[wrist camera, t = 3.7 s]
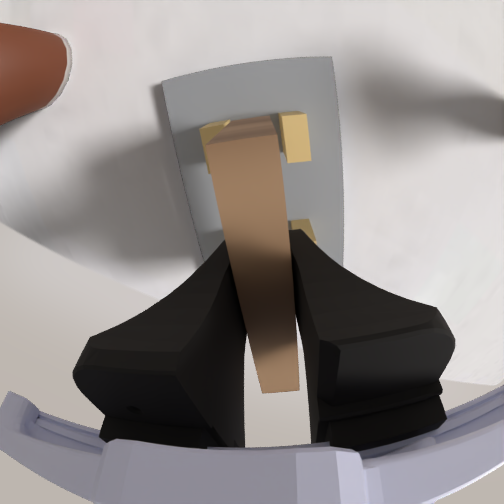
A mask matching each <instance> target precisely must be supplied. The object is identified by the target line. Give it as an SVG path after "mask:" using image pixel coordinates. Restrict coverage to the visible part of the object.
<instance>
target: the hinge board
mask: <svg viewBox="0 0 504 504" xmlns="http://www.w3.org/2000/svg"><path fill="white" fill-rule="evenodd" d="M162 86H163V91H164V96H165V102H166V107H167V112H168V116H169V121H170V126H171V131H172V135H173V140H174V144H175V149H176V153H177V158H178V162H179V166H180V171H181V175H182V179H183V183H184V187H185V191H186V195H187V199H188V203H189V207H190V211H191V215H192V219H193V223H194V226H195V230H196V234H197V238H198V241H199V245H200V249H201V252H202V256H203V259H204V262H205V261H206V260H207V259H208V258H209V257H210V256H211V254H212V253H213V252H214V251H215V250H216V249H217V248H218V246H219V245H220V244H221V243H222V242H223V241H224V240H225V237H224V233H223V228H222V224H221V219H220V214H219V210H218V205H217V201H216V196H215V191H214V186H213V182H212V177H211V172H210V167H209V162H208V157H207V153H206V148H205V145H206V144H207V143H208V142H209V141H210V140H211V139H212V138H213V137H214V136H215V135H216V134H218V133H219V132H220V131H221V130H222V129H223V128H224V127H225V126H226V125H227V124H229V123H230V122H231V121H233V120H240V119H247V118H254V117H261V116H270V118H271V121H272V123H273V125H274V128H275V130H276V132H277V135H278V143H279V151H280V159H281V167H282V175H283V184H284V192H285V201H286V211H287V220H288V230H295V229H302V230H303V231H304V232H305V233H306V234H307V235H308V236H309V238H310V239H311V240H312V241H313V242H314V243H315V244H316V245H317V246H318V247H319V248H320V249H322V250H323V251H324V252H325V253H326V254H327V255H328V256H329V257H330V258H332V259H333V260H334V261H335V262H337V263H338V264H339V265H341V266H342V267H343V252H344V189H343V163H342V146H341V132H340V120H339V109H338V100H337V91H336V83H335V75H334V68H333V61H332V57H300V58H286V59H274V60H265V61H257V62H249V63H242V64H236V65H230V66H224V67H219V68H214V69H209V70H204V71H200V72H195V73H191V74H187V75H183V76H179V77H175V78H172V79H168V80H164V81H162Z"/></svg>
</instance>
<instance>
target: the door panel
mask: <svg viewBox="0 0 504 504" xmlns="http://www.w3.org/2000/svg"><path fill="white" fill-rule="evenodd" d="M205 148H206V153H207V157H208V162H209V167H210V172H211V177H212V182H213V186H214V191H215V196H216V201H217V205H218V210H219V214H220V219H221V224H222V228H223V233H224V237H225V242H226V246H227V250H228V255H229V259H230V264H231V268H232V272H233V277H234V281H235V285H236V289H237V294H238V298H239V302H240V306H241V310H242V315H243V319H244V323H245V327H246V331H247V335H248V339H249V343H250V347H251V351H252V355H253V359H254V363H255V367H256V371H257V375H258V379H259V383H260V386H261V390H262V393H276V392H288V391H297V390H299V367H298V347H297V330H296V315H295V300H294V287H293V275H292V263H291V252H290V241H289V230H288V220H287V211H286V201H285V192H284V184H283V175H282V167H281V159H280V151H279V143H278V135H277V132H276V130H275V128H274V125H273V123H272V121H271V118H270V116H261V117H254V118H247V119H240V120H233V121H231V122H230V123H229V124H227V125H226V126H225V127H224V128H223V129H222V130H221V131H220V132H219V133H218V134H216V135H215V136H214V137H213V138H212V139H211V140H210V141H209V142H208V143H207V144H206V145H205Z"/></svg>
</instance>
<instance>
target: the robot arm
mask: <svg viewBox="0 0 504 504" xmlns="http://www.w3.org/2000/svg"><path fill="white" fill-rule="evenodd" d="M289 241H290V252H291V263H292V275H293V287H294V300H295V314H296V318H297V323H298V327H299V331H300V336H301V340H302V345H303V351H304V360H305V369H306V379H307V391H308V403H309V416H310V431H311V444H304V445H293V446H279V447H258V448H257V447H256V448H245V431H244V430H245V429H244V353H245V343H246V336H247V331H246V327H245V323H244V319H243V315H242V310H241V306H240V302H239V298H238V294H237V289H236V285H235V281H234V277H233V272H232V268H231V264H230V259H229V255H228V250H227V246H226V242H225V240H224V241H223V242H222V243H221V244H220V245H219V246H218V248H217V249H216V250H215V251H214V252H213V253H212V254H211V256H210V257H209V258H208V259H207V260H206V261H205V262H204V263H203V264H202V265H201V266H200V267H199V268H198V269H197V270H196V271H195V272H194V273H193V274H192V275H191V276H190V277H189V278H188V279H187V280H186V281H185V282H184V283H182V284H181V285H180V286H179V287H178V288H176V289H175V290H174V291H173V292H171V293H170V294H169V295H168V296H166V297H165V298H163V299H162V300H160V301H159V302H157V303H156V304H154V305H153V306H151V307H150V308H148V309H147V310H145V311H144V312H142V313H140V314H138V315H137V316H135V317H133V318H131V319H129V320H128V321H126V322H124V323H122V324H120V325H118V326H115V327H113V328H111V329H108V330H106V331H104V332H101V333H99V334H97V335H94V336H92V337H90V338H89V340H88V342H87V344H86V346H85V348H84V350H83V351H82V353H81V356H80V357H79V359H78V362H77V364H76V366H75V368H74V370H73V379H74V381H75V383H76V385H77V387H78V388H79V390H80V391H81V392H82V393H83V394H84V395H85V396H86V397H87V398H88V399H89V400H90V401H91V402H92V403H93V404H94V405H95V406H96V407H97V408H98V409H99V410H100V411H101V412H102V413H103V414H104V415H105V418H104V421H103V425H102V427H101V430H97V429H94V428H90V427H86V426H83V425H80V424H76V423H73V422H70V421H67V420H64V419H61V418H58V417H55V416H52V415H49V414H47V413H44V412H41V411H39V409H38V408H37V407H36V406H35V405H34V404H33V403H31V402H30V401H29V400H28V399H26V398H25V397H23V396H20V395H18V394H16V393H13V392H11V391H8V393H7V395H6V397H5V399H4V401H3V403H2V405H1V408H0V450H2V451H3V452H5V453H6V454H7V455H9V456H11V457H12V458H13V459H15V460H16V461H18V462H19V463H21V464H22V465H24V466H25V467H27V468H28V469H30V470H31V471H33V472H35V473H36V474H38V475H40V476H41V477H43V478H45V479H47V480H48V481H50V482H52V483H54V484H56V485H58V486H60V487H61V488H64V489H65V490H67V491H70V492H72V493H74V494H76V495H78V496H80V497H82V498H85V499H87V500H89V501H92V502H93V503H94V504H434V503H435V501H436V500H439V499H441V498H443V497H446V496H448V495H449V494H452V493H454V492H456V491H458V490H460V489H462V488H464V487H466V486H468V485H470V484H471V483H473V482H475V481H477V480H479V479H480V478H482V477H484V476H485V475H487V474H489V473H490V472H492V471H494V470H495V469H497V468H498V467H500V466H502V465H503V464H504V385H502V386H500V387H498V388H497V389H495V390H493V391H491V392H489V393H487V394H485V395H483V396H480V397H478V398H476V399H474V400H472V401H469V402H467V403H465V404H462V405H460V406H458V407H455V408H453V409H450V410H448V411H445V410H444V407H443V404H442V402H441V399H440V396H439V395H441V393H442V390H443V389H442V386H441V384H440V381H439V378H440V376H441V375H442V373H443V371H444V370H445V368H446V366H447V364H448V363H449V361H450V359H451V357H452V354H453V352H454V349H455V338H454V336H453V334H452V332H451V330H450V328H449V326H448V325H447V323H446V321H445V319H444V318H443V316H442V315H441V313H440V312H439V310H438V309H437V307H433V306H430V305H426V304H423V303H419V302H416V301H412V300H409V299H406V298H403V297H401V296H398V295H395V294H393V293H390V292H388V291H385V290H383V289H381V288H379V287H377V286H375V285H373V284H371V283H369V282H367V281H365V280H363V279H361V278H359V277H358V276H356V275H354V274H353V273H351V272H350V271H348V270H347V269H345V268H344V267H342V266H341V265H339V264H338V263H337V262H335V261H334V260H333V259H332V258H330V257H329V256H328V255H327V254H326V253H325V252H324V251H323V250H322V249H320V248H319V247H318V246H317V245H316V244H315V243H314V242H313V241H312V240H311V239H310V238H309V236H308V235H307V234H306V233H305V232H304V231H303V230H302V229H295V230H289Z"/></svg>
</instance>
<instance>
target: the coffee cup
mask: <svg viewBox="0 0 504 504" xmlns="http://www.w3.org/2000/svg"><path fill="white" fill-rule="evenodd" d="M71 67H72V50H71V47H70V45H69V43H68V41H67V39H66V38H64V37H62V36H61V35H59V34H55V33H50V32H46V31H41V30H37V29H32V28H27V27H22V26H16V25H10V24H4V23H0V125H2V124H5V123H7V122H9V121H12V120H14V119H16V118H19V117H21V116H24V115H26V114H29V113H32V112H34V111H37V110H41V109H43V108H45V107H47V106H50V105H51V104H52V103H53V102H54V101H55V100H56V99H57V98H58V97H59V96H60V95H61V93H62V91H63V89H64V87H65V85H66V84H67V82H68V80H69V75H70V71H71Z"/></svg>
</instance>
